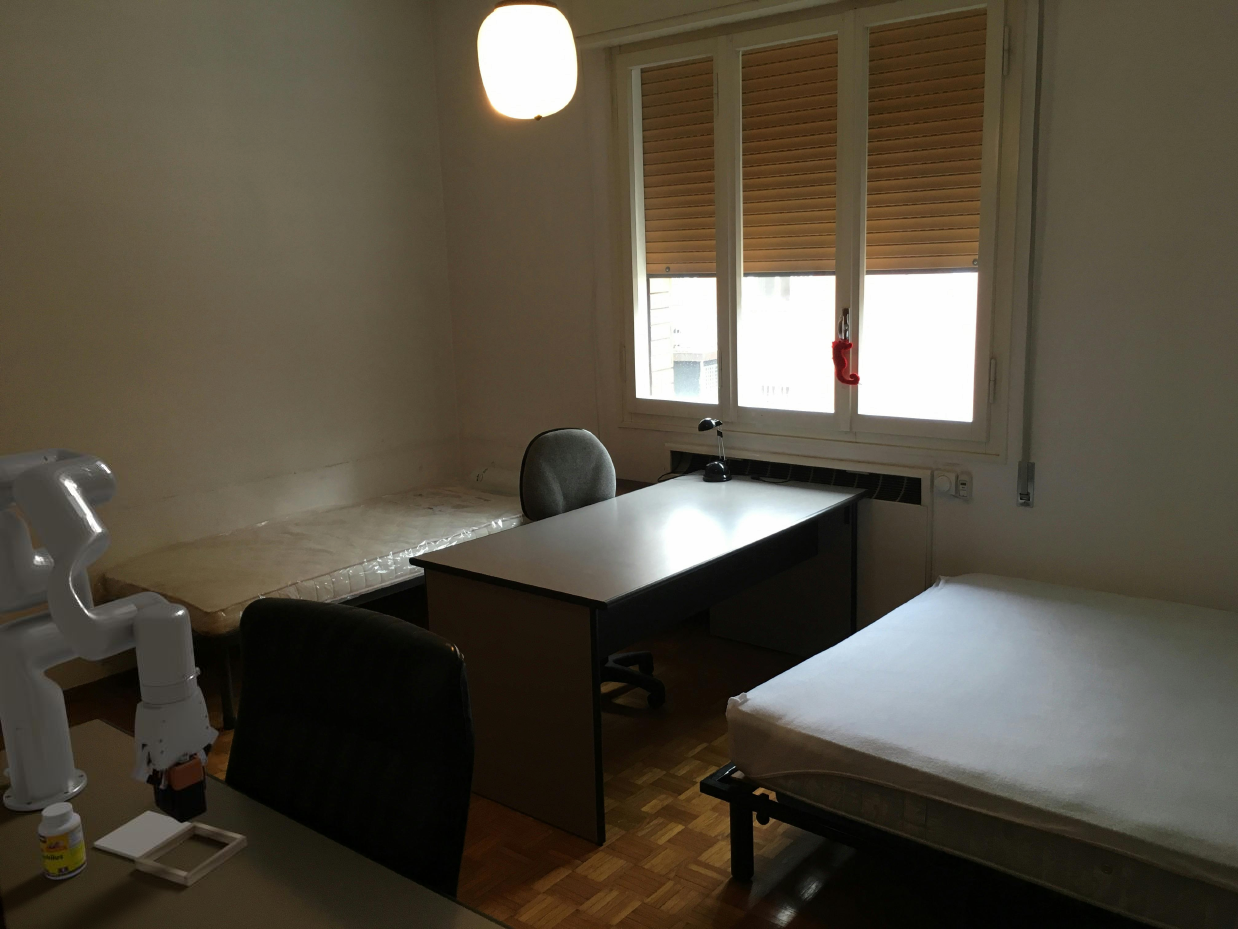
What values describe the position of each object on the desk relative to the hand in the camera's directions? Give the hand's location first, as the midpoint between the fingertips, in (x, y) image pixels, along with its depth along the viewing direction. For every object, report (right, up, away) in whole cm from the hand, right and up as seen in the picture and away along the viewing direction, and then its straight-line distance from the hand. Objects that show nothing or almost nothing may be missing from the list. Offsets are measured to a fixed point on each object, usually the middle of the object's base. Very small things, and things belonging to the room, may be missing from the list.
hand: (181, 797), depth 146 cm
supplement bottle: (-17, -11, -1) cm, 20 cm away
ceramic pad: (-9, -9, +7) cm, 15 cm away
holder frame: (+1, -10, +2) cm, 10 cm away
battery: (0, -2, +1) cm, 3 cm away
